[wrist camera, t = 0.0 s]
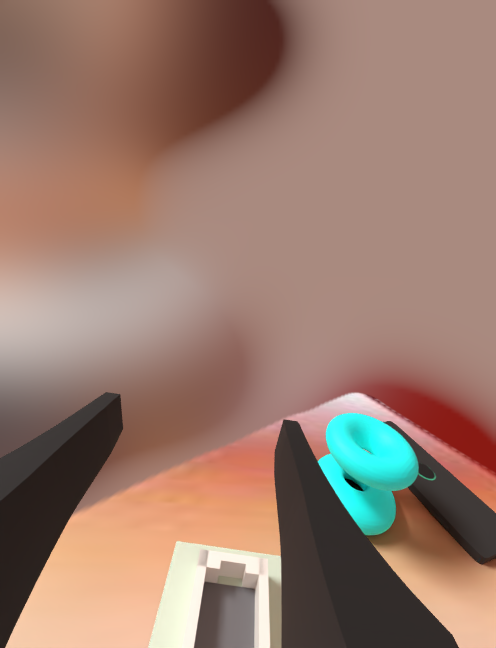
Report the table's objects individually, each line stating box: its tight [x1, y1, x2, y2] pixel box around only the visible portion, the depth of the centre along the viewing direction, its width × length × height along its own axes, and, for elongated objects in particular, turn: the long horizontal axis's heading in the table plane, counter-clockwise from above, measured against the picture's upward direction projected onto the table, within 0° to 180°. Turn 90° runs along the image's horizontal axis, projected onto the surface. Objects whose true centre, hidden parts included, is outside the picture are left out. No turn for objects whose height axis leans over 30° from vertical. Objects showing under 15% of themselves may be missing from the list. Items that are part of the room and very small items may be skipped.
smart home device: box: [383, 421, 496, 564], centre depth 38 cm, size 8×2×20 cm
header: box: [182, 549, 270, 648], centre depth 20 cm, size 8×6×2 cm
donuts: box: [318, 413, 419, 535], centre depth 31 cm, size 10×10×10 cm
